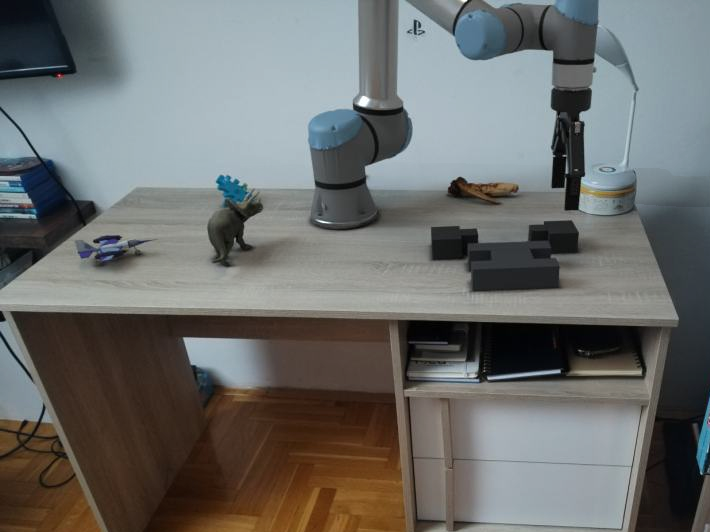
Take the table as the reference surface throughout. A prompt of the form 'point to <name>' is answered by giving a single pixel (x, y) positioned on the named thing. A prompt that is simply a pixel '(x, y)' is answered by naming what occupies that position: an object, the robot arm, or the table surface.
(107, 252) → the toy airplane
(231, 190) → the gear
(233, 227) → the toy dinosaur
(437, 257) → the dark grey t-shaped block
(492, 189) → the bone fish hook
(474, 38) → the robot arm
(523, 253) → the base tile
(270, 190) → the table surface
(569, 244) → the dark stepped block
